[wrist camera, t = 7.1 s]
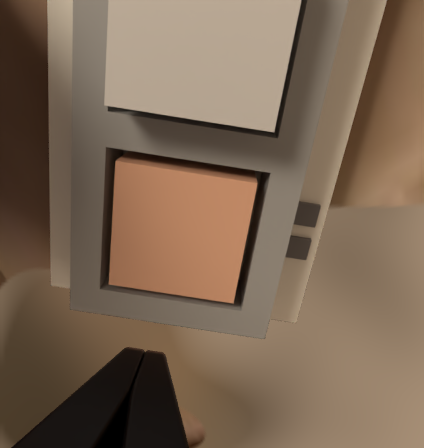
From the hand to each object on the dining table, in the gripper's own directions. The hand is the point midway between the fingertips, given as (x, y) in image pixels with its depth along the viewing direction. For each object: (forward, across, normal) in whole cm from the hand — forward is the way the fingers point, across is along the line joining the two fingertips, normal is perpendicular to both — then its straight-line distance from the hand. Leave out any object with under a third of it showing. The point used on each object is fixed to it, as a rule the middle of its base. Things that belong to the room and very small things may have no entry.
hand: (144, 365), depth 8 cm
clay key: (+9, 0, 0) cm, 9 cm away
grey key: (+8, 0, -7) cm, 10 cm away
